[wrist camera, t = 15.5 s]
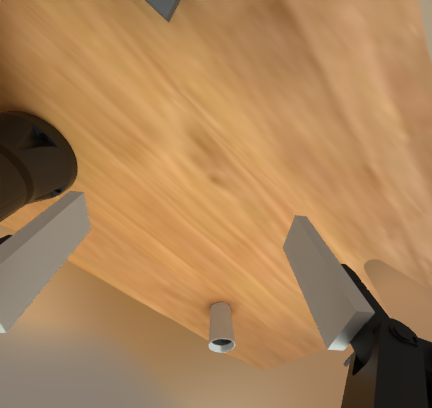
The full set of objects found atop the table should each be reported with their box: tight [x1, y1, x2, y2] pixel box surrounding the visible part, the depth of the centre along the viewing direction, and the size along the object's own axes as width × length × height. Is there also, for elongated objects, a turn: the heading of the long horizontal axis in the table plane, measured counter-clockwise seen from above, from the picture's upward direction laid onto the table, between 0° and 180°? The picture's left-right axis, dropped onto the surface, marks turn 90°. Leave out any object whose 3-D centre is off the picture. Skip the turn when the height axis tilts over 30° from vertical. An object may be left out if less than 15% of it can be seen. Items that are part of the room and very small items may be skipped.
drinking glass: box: [209, 302, 235, 353], centre depth 57 cm, size 7×7×10 cm
